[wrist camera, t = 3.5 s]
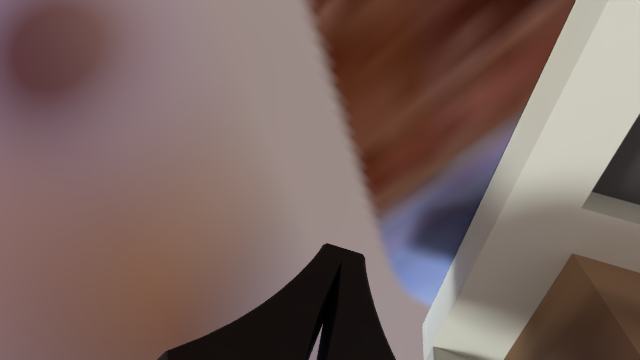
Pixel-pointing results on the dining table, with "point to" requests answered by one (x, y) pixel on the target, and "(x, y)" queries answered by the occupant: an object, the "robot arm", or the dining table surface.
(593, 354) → the walnut block
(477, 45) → the dining table surface
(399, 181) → the dining table surface
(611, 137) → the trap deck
